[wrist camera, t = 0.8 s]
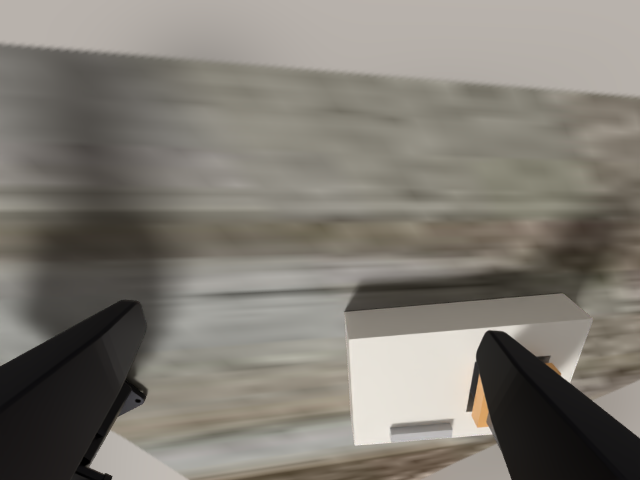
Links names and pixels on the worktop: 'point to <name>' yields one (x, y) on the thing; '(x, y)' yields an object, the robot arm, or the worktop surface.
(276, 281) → the worktop surface
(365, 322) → the socket block
